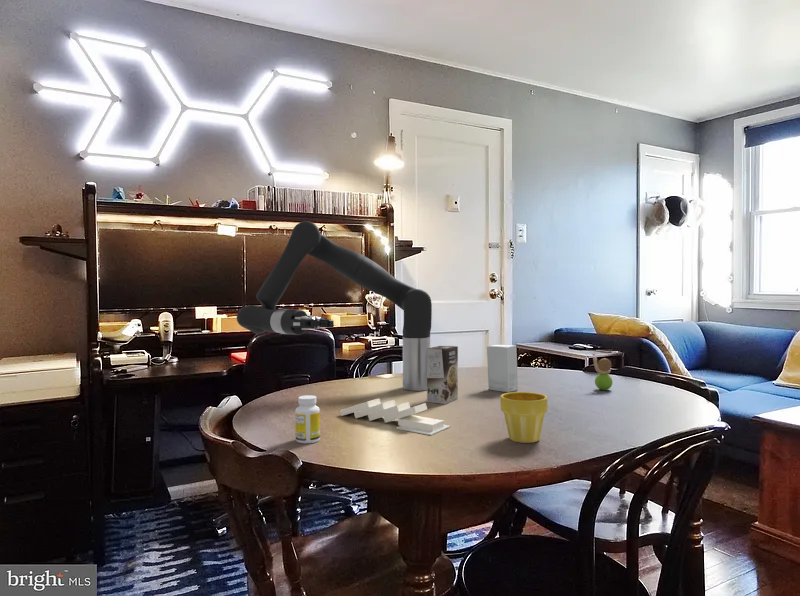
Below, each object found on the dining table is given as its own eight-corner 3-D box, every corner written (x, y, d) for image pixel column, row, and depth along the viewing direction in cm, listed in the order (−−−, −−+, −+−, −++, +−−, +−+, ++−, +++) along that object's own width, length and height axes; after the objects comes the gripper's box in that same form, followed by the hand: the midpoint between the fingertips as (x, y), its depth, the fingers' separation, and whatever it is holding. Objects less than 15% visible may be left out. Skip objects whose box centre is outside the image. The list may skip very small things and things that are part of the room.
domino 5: (398, 418, 132) (432, 424, 126) (409, 414, 136) (443, 420, 130) (398, 425, 132) (432, 431, 126) (409, 421, 136) (443, 427, 131)
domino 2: (353, 412, 141) (382, 403, 135) (366, 408, 145) (393, 399, 139) (355, 418, 140) (383, 409, 135) (367, 414, 144) (395, 405, 139)
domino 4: (383, 416, 135) (414, 406, 129) (395, 412, 139) (425, 402, 133) (385, 422, 135) (416, 413, 129) (397, 418, 139) (427, 409, 133)
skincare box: (518, 390, 177) (518, 345, 176) (507, 393, 172) (507, 346, 172) (497, 387, 183) (497, 343, 182) (486, 389, 179) (486, 344, 178)
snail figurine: (589, 388, 179) (589, 352, 179) (607, 388, 180) (607, 352, 180) (596, 391, 174) (596, 354, 174) (615, 391, 175) (615, 354, 174)
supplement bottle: (320, 436, 124) (319, 394, 124) (320, 443, 118) (319, 399, 118) (296, 437, 123) (295, 394, 123) (294, 444, 118) (294, 400, 117)
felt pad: (395, 428, 130) (395, 427, 130) (416, 421, 138) (416, 419, 138) (430, 435, 124) (430, 434, 124) (450, 427, 132) (450, 425, 132)
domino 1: (339, 410, 144) (367, 401, 138) (352, 406, 148) (379, 398, 142) (341, 415, 143) (368, 407, 138) (353, 412, 147) (380, 404, 142)
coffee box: (446, 404, 156) (446, 349, 156) (426, 402, 160) (426, 347, 159) (458, 398, 164) (458, 345, 164) (439, 396, 168) (439, 344, 167)
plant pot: (490, 437, 123) (490, 394, 122) (521, 430, 129) (522, 389, 128) (525, 448, 114) (525, 402, 114) (557, 440, 120) (557, 396, 120)
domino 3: (367, 414, 138) (396, 405, 132) (379, 411, 142) (408, 401, 136) (369, 421, 138) (398, 411, 132) (381, 417, 142) (410, 407, 136)
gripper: (271, 310, 156) (314, 311, 146) (305, 308, 167) (347, 309, 156) (272, 336, 156) (315, 339, 146) (305, 332, 167) (347, 335, 157)
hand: (331, 323), depth 151 cm, fingers closed
